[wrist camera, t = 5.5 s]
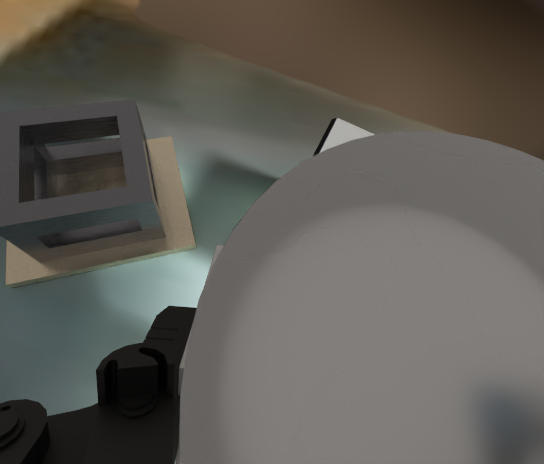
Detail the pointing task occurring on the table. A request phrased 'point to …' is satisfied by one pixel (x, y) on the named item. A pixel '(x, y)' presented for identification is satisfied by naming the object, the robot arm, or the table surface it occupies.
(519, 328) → the tube
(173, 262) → the table surface
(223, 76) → the table surface
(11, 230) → the collar stand
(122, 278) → the table surface
